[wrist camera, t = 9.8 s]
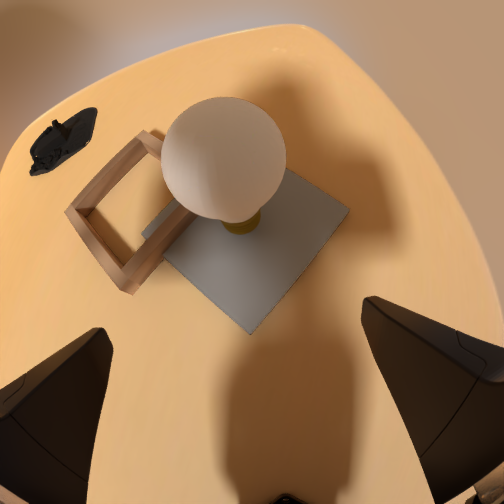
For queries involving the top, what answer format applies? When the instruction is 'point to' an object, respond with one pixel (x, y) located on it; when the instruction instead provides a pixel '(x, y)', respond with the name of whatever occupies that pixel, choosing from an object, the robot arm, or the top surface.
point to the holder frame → (154, 246)
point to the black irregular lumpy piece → (62, 141)
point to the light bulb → (224, 161)
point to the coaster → (255, 250)
